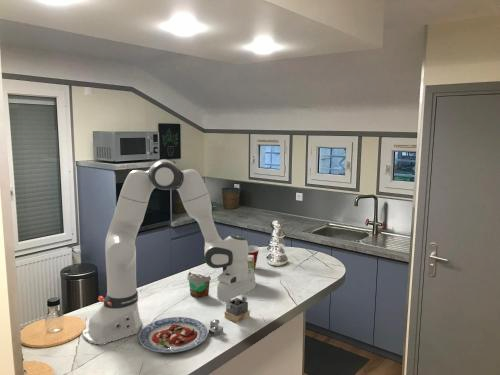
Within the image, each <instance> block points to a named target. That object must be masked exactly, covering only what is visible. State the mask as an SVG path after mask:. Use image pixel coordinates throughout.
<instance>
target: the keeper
mask: <svg viewBox="0 0 500 375" xmlns="http://www.w3.org/2000/svg"><path fill="white" fill-rule="evenodd" d="M234 299H235V298H234ZM239 299H240V298H239ZM239 299H235V305H237V306H238V305H240V300H239ZM250 315H251V313H250V310H249V309H248V311H247V312H245V313H243V314H241V315H239V316H235V315H233V314H231V313H228V312H226V310H225V311H224V318H225V319H228V320H229V321H232V322H234V323H236V324H237V323H239V322H242V320H245V319H246V318H249V317H250Z"/></svg>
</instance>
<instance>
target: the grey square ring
mask: <svg viewBox="0 0 500 375" xmlns="http://www.w3.org/2000/svg"><path fill="white" fill-rule="evenodd" d="M235 299H239V300H240V305H238V306H237V305H235ZM225 304H226V303H225ZM230 304H232V308H231V309H228V308H227V304H226V305H225V311H226V312H228V313H231V314H233V315H235V316H239V315H241V314H243V313H245V312H247V311H248V310H249V302H248V301H244V300H242V298H239V297H234V298H232V299H231V301H230Z"/></svg>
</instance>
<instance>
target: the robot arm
mask: <svg viewBox="0 0 500 375" xmlns="http://www.w3.org/2000/svg"><path fill="white" fill-rule="evenodd" d="M154 189H158V190H162V191H169V190H176V191H177V192H178V194H179V197H180V199H181V202H182V205H183V208H184V209H185V212H186V213H187V215H188V216H189V217H190V218H193V219H194V220H195V221H196V222H197V223H198V226H199V228H200V229H199V230H201V234H202V236H203V239H204V240H203V241H204V244H203V249H204V262H205V264H206V265H207V267H210V268H213V269H221V268H222V269H223V267H227V269H225V271H224V272H223V271H222V273H220V274H219V275H218V276H217V281H218V284H217V288H216V290H217V292H216V294H217V295H216V297H217V299H218V301H220V302H224V303H225V304H227V308H228V309H231V308H232V304H230V301H231V300H233V299H235V298H238V297H239V296H241V295H243V296H241V300H244V301H246V302H248V296H249V294H250V291H251V290H253V289H255V288H256V275H255V269H254V270H253V269H252V268H249V269H248V263H247V259H248V246H249V245H248V240H247V239H246V238H245V237H244V236H243V235H240V234H235V233H234V234H229V235H228V236H227V237H225V238H223V237H222V236H221V235H220V234H219V232H218V229H217V227H216V224H215V222H214V219H213V215H212V210H213V209H212V208H213V206H212V202H211V197H210V193H209V191H208V188H207V185H206V184H205V181H204V179H203V177H202V176H201V174H200V172H199V171H198V170H197V169H193V168H188V169H185V170H181V169H179V168H178V166H177V165H176V164H175V163H174V162H173V161H171V160H170V159H167V158H161V159H158V160H156V161H155V162H154V163H153V164H152V165H150V167H148V168H147V169H146V170H141V169H140V170H139V169H134V170H132V171H129V173H128V174H127V176H126V178H125V180H124V182H123V184H122V188H121V190H120V193H119V196H118V200H117V204H116V206H115V210H114V213H113V216H112V219H111V222H110V225H109V226H108V231H107V234H106V237H105V240H104V241H105V243H104V244H105V245H104V250H105V251H104V252H105V254H104V256H105V271H106V289H107V291H106V292H107V293H106V295H105V297H104V296H103V295H99V296H98V298H97V301H99V302H100V303H103V304H102V305H101V306H100V307H99V309H98V310H97V311H95V313H94V314H93V315H91V316H90V318H89V321H88V327H87V328H85V329H83V330H82V337H83V339H84V338H85V339H84V340H86V341H87V340H88V341H89V342H88V341H87V342H88V343H90V342H91V343H90V344H92V343H94V344H93V345H95V344H103V345H105V344H104V343H107V342H110V343H112V342H111V341H113V342H116V341H119V340H121V338H122V339H125V338H128V337H130V335H131V336H135V335H137V334H139V333H140V328H141V327H142V324H143V322H142V319H141V316H140V312H139V306H138V300H139V293H138V292H139V291H138V289H137V247H136V238H137V235H138V233H139V230H140V228H141V225H142V223H143V222H144V218H145V215H146V211H147V208H148V205H149V200H150V197H151V194H152V192H153V191H154ZM134 334H135V335H134ZM124 337H125V338H124ZM118 339H119V340H118ZM115 340H116V341H115ZM107 344H108V343H107Z"/></svg>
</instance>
